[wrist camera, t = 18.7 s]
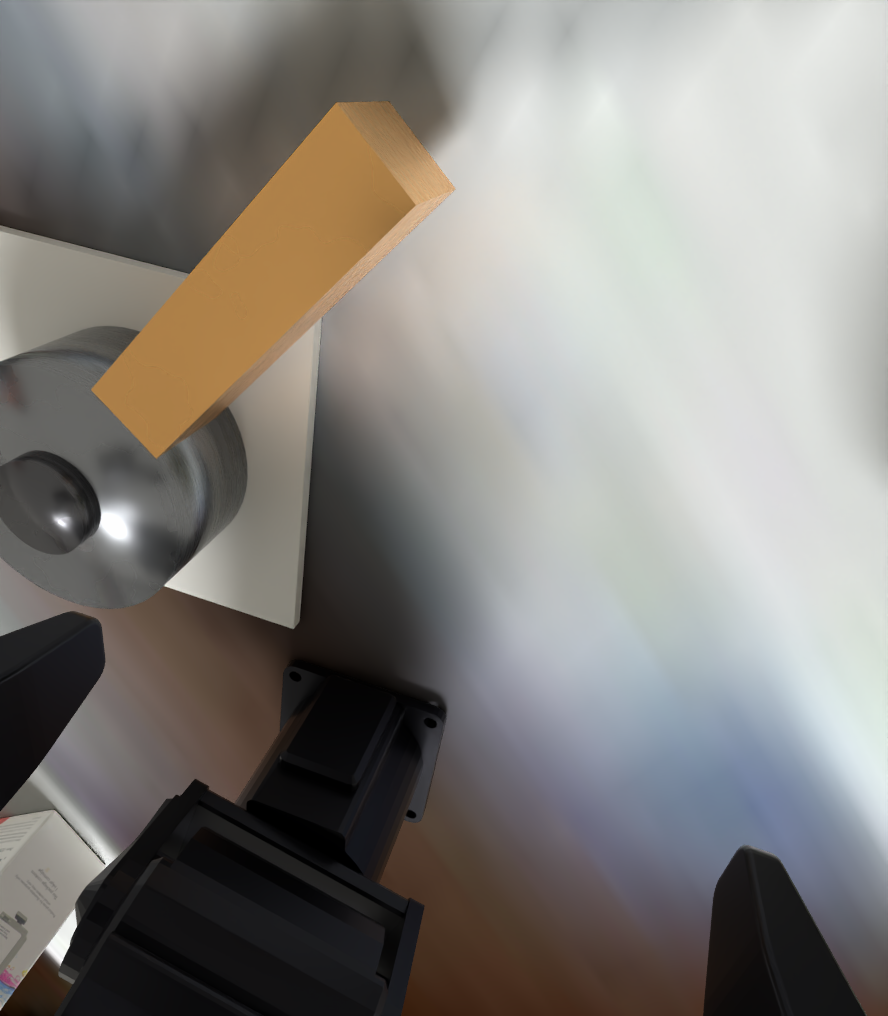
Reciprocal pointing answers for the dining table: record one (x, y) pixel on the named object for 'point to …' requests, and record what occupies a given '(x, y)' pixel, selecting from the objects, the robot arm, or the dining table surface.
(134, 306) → the dial plate
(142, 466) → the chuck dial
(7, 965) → the ink cartridge box
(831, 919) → the dining table surface
